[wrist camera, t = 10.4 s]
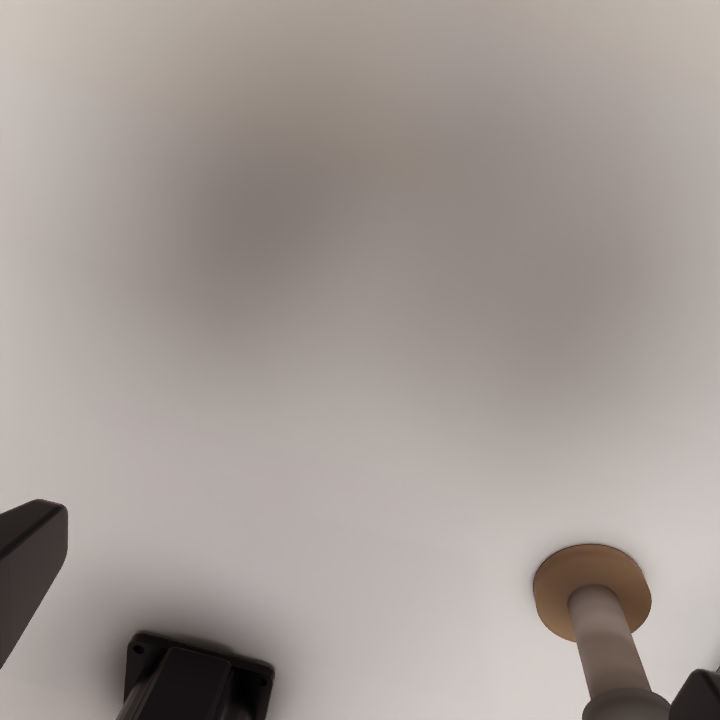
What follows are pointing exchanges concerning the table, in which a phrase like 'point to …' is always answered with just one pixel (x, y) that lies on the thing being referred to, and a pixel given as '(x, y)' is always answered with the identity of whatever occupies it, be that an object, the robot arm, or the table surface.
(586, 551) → the peg stand
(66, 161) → the table surface
